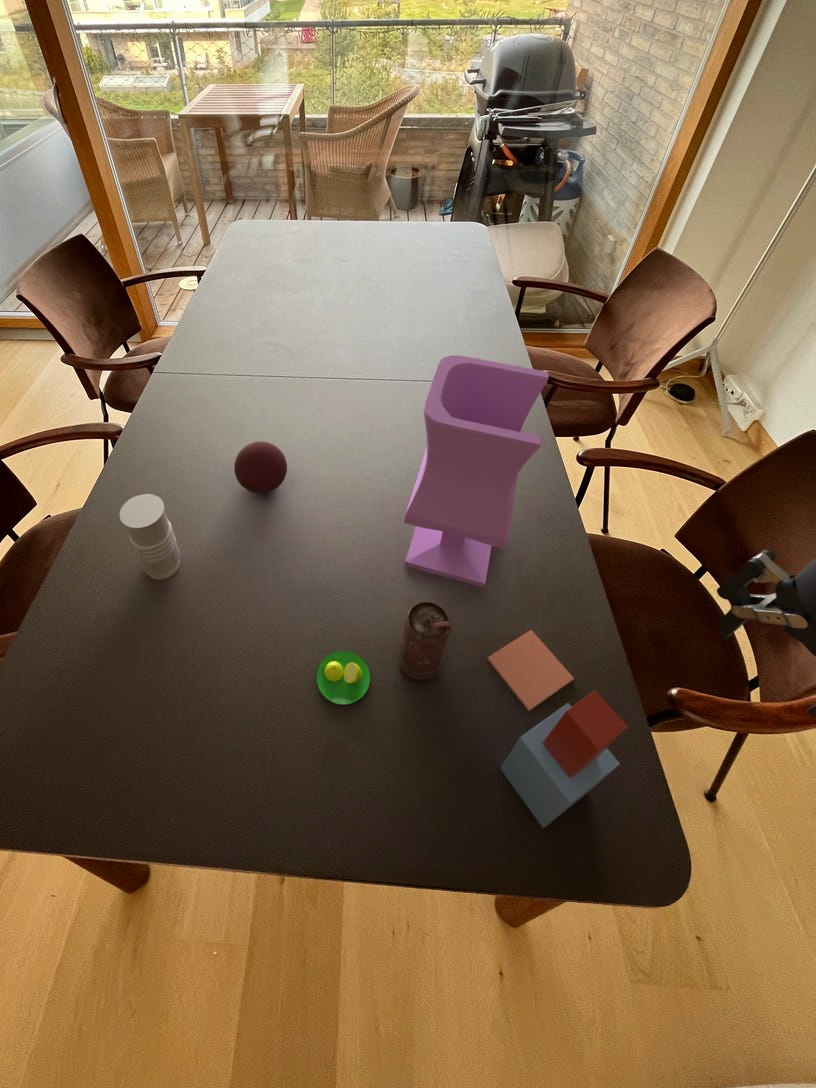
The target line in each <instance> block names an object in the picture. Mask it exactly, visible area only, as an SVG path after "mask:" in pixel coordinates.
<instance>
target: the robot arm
mask: <svg viewBox="0 0 816 1088" xmlns="http://www.w3.org/2000/svg"><path fill="white" fill-rule="evenodd" d="M776 561H777V555H776V554H775V552H773V551H771V550H769V549H763V550H761V551H760V552H758V553H757V554H756V555H755V556H753V557H751V559H749V560H747V561H746V562H745V563H744V564H743V565H742V566H741V567H740V568H738V569H737V570H736V571H735V572H734V573H733V574H732V575H731V576H730V577H729V578H727V579H726V580H725V581H724V582H723V583H722V584H721V585H720V586H719V587H718V588H717V589H716V594H717V595H718V597H719V598H721V599H723V600H725V601H726V600H727V602H728V603H729V605H730V609H729V610H728V611H727V612H726V613H725V614H724V616H722V617H721V618H720V620H718V622H717V627H718V628H719V629H720V631H719V632H718V635H719V636H721V637H722V638H723V639H724V640H727V639H728V638H729V637H731V635H732V634H734V633H735V632H736V631H738V630H739V629H740V628H741V627H742V626H743V625H744V624H745V623H746V622H747V621H748V620H755V621H758V623H760V624H767V625H778V626H779V625H780V626H783V627H784V628H783V631H784V632H785V633H786V634H787V635H788V636H790V637H791V638H792V639H794V640H795V641H797V642H799V643H800V644H802V645H803V646H804V647H805V648H806V649H807V651H808V652H809V653H811V654H812V655H813V657H816V557H814V558H813V559H812V560H810V562H809V563H808V564H807V565H806V566H805V567H804V568H803V569H801V570H800V571H799V572H798V573H795V574H789V573H788V572H786V571H785V570H783V568H781V567H780V566H779V565H778V564H776V563H775V562H776ZM752 582H753V583H755V584H758V583H760V584H765V583H768V582H770V583H773V584H774V585H775V592H774V593H771V594H752V593H750V592H748V590H747V588H746V587H747V586H748V585H750V584H751V583H752ZM805 712H807V713H808V714H809V716H811V717H812V718H813V719H816V702H815V703H814V704H812V705H811V706H810V707H809V708H808V709H807V710H806V711H805Z"/></svg>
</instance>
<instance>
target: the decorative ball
mask: <svg viewBox="0 0 816 1088" xmlns="http://www.w3.org/2000/svg"><path fill="white" fill-rule="evenodd" d="M233 465H234V466H233V467H234V470H233V471H234V476H235V478H236V480H237V482H238V483H239V485H240V487H242V488H243V489H245V490H247V491H248V492H250V493H252V494H259V495H260V494H261V495H262V494H269V493H270V492H273V491H275V490H276V489H278V488H279V487H281V485H282V484H283V482H284V480H285V479H286V475H287V471H288V463H287V459H286V456H285V455H284V453H283V451H282V450H281V449H280V448H279V447H278V446H277V445H275V444H274V443H270V442H268V441H261V440H260V441H259V440H258V441H253V442H251V443H248V444H247V445H245V446H244V447H242V449H240V450H239V452H238V454H237V455H236V457H235V460H234V464H233Z"/></svg>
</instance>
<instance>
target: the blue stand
mask: <svg viewBox="0 0 816 1088" xmlns="http://www.w3.org/2000/svg"><path fill="white" fill-rule="evenodd" d="M571 707H572V705H571V704H570V703H569V702H567V703H566V704H565V705H563V706H561V707H560V708H559V709H557V710H556V711H555V712H553V713H552V714H550V715H549V716H548V717H546V718H545V719H544V720H542V721H541V722H539V723H537V725H535V726H534V727H532V728H530V730H528V731H527V732H525V733H524V734H523V735H521V736H520V737H519V738H518V740H517V742H516V743H515V744H514V746H513V747H512V749H511V751H510V752H509V753H508V755H507V756H506V758H505V759H504V761H503V763H502V764H501V766H500V770H501V772H502V773H503V774H504V776H505V777H506V779H507V780H508V781H509V783H510V785H511V786H512V787H513V788H514V790H515V791H516V793H517V794H518V796H519V797H520V798H521V799H522V801H523V802H524V804H525V806H526V807H527V808H528V810H529V811H530V812H531V814H532V815H533V817H534V818H535V819H536V821H537V822H538V824H539V825H540V826H541V828H542V829H545V828H546V827H547V826H549V825H550V824H551V823H552V822H553V821H555V820H556V819H557V818H558V817H560V815H562V814H563V813H565V812H566V811H567V810H569V808H570V807H572V806H573V805H574V804H576V803H577V802H579V800H581V799H582V798H584V796H585V795H587V794H588V793H589V792H590V791H591V790H592V789H594V788H595V787H596V786H597V785H598V784H600V783H601V782H602V781H603V780H604V779H605V778H606V777H607V776H608V775H610V774H611V772H613V771H614V770H615V769H616V768H617V767H618V766H619V765H621V763H620V761H618V759H617V758H616V757H615V756H614V755H613V754H612V752H611V751H610V750H609V749H608V747H607V748H606V749H605V750H604V751H603V752H602V753H601V754H600V755H599V756H598V757H597V758H596V759H595V760H593V761H592V762H591V763H590V764H588V765H587V766H586V767H585V768H583V769H582V770H581V771H579V772H578V773H577V774H576V775H574V776H573V777H572V778H569V776H568V775H567V774H566V773H565V771H564V770H563V769H562V767H561V766H560V765H559V764H558V762H557V761H556V760H555V758H554V757H553V756H552V755H551V753H550V752H549V751H548V749H547V748H546V747H545V746H544V744H543V741H544V740H545V739H546V737H547V736H548V735H549V733H550V732H551V731H552V729H553V728H554V727H555V725H556V724H557V723H558V721H559V720H560V719H561V717H562V716H563V715H564V713H565V712H566V711H567V710H568V709H570V708H571Z"/></svg>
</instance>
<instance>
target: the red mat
mask: <svg viewBox="0 0 816 1088" xmlns="http://www.w3.org/2000/svg"><path fill="white" fill-rule="evenodd" d="M486 660H487V661H488V662H489V664H490V665H491V667H492V668H493V669H494V670H495V671H496V673H497V674H498V675H499V676H500V678H501V679H502V680H503V681H504V683H505V684H506V685H507V687H508V688H509V689H510V690H511V691H512V693H513V694H514V696H515V697H516V698H517V699H518V700H519V702H520V703H521V704H522V705H523V706H524V708H525V709H526V711H528V712H530V711H532V710H533V709H535V708H536V707H537V706H539V705H540V704H541V703H544V701H546V700H548V699H549V698H550V697H551V696H553V695H555V694H556V693H557V692H559V691H560V690H562V689H563V688H564V687H566V686H567V685H568V684H570V683H572V682H573V681H574V680H575V677H573V675H572V674H571V673H570V672H569V671H568V670H567V669H566V667H565V666H564V665H563V664H562V663H561V662H560V660H559V659H557V657H556V656H555V655H554V654H553V653H552V652H551V650H549V648H548V647H547V646H546V645H545V644H544V642H542V641H541V639H540V638H539V636H538V635H536V633H535V632H534V631H533V630H532V629H530V630H528V631H527V632H526V633H523V635H521V636H519V637H517V638H516V639H514V640H513V641H511V642H509V643H508V644H507V645H505V646H504V647H502V648H500V649H498V650H497V651H495V652H494V653H492V654H491V655H489V656H487V658H486Z"/></svg>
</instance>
